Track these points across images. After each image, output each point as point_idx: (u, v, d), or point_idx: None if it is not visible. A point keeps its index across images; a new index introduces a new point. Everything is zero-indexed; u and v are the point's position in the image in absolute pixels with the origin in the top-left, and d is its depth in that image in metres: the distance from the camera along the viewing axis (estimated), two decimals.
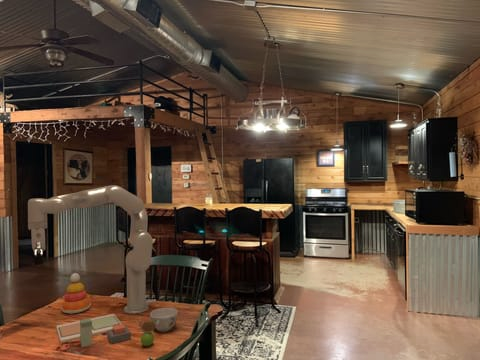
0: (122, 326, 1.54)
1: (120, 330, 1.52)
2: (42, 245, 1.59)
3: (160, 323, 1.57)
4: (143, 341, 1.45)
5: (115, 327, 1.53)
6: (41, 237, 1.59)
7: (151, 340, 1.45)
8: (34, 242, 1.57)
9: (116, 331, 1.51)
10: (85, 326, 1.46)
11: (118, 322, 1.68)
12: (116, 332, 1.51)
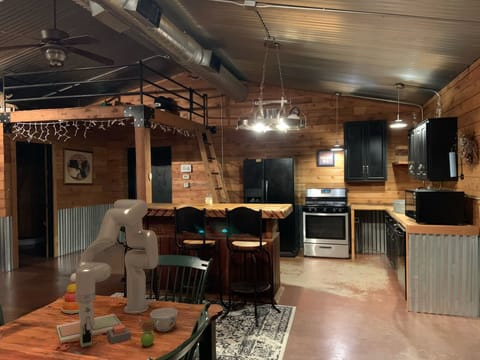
0: (122, 326, 1.54)
1: (120, 330, 1.52)
2: (91, 320, 1.45)
3: (160, 323, 1.57)
4: (143, 341, 1.45)
5: (115, 327, 1.53)
6: (90, 312, 1.45)
7: (151, 340, 1.45)
8: (83, 318, 1.43)
9: (116, 331, 1.51)
10: None
11: (118, 322, 1.68)
12: (116, 332, 1.51)
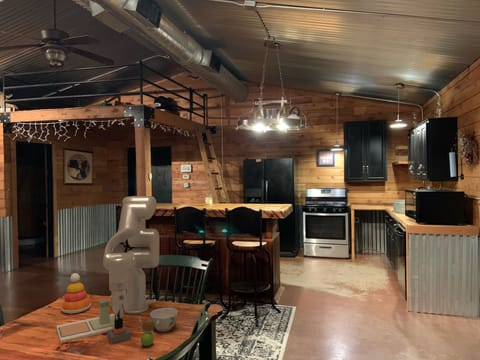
0: (122, 327, 1.54)
1: (120, 331, 1.52)
2: (125, 308, 1.50)
3: (160, 323, 1.57)
4: (143, 341, 1.45)
5: None
6: (124, 299, 1.50)
7: (151, 340, 1.45)
8: (117, 305, 1.48)
9: (116, 332, 1.51)
10: (103, 306, 1.66)
11: None
12: (116, 333, 1.51)
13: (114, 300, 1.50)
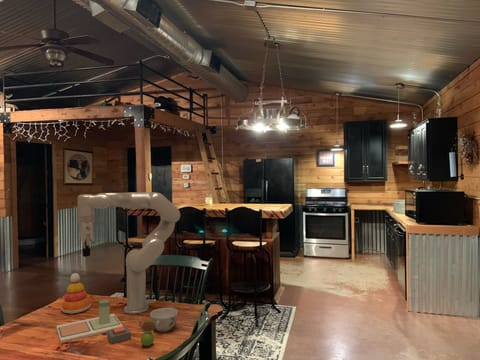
0: (122, 328, 1.54)
1: (120, 332, 1.52)
2: (91, 237, 1.72)
3: (160, 323, 1.57)
4: (143, 341, 1.45)
5: (115, 329, 1.53)
6: (90, 230, 1.72)
7: (151, 340, 1.45)
8: (84, 234, 1.70)
9: (116, 333, 1.51)
10: (103, 306, 1.66)
11: (118, 322, 1.68)
12: None
13: (82, 231, 1.72)
